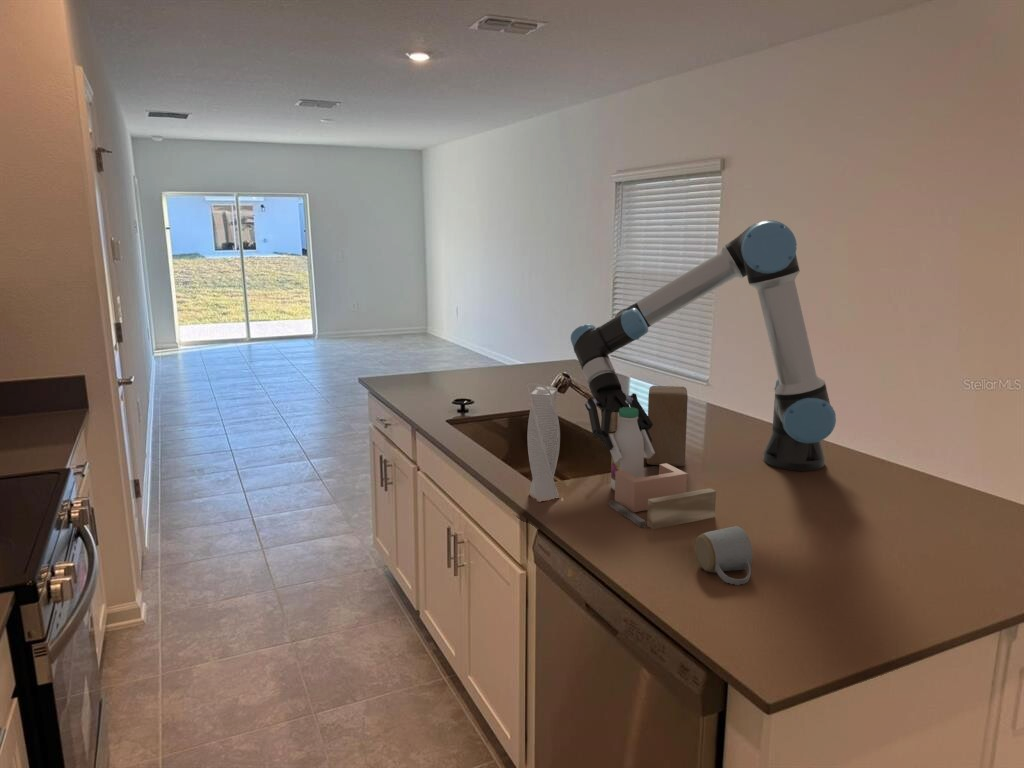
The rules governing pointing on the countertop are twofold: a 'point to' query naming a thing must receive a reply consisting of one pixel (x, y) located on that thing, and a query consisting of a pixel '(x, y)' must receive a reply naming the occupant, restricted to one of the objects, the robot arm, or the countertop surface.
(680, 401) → the block
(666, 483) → the cradle
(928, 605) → the countertop surface
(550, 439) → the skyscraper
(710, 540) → the ceramic mug
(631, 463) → the milk bottle
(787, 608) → the countertop surface
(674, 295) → the robot arm
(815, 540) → the countertop surface
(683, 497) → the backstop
